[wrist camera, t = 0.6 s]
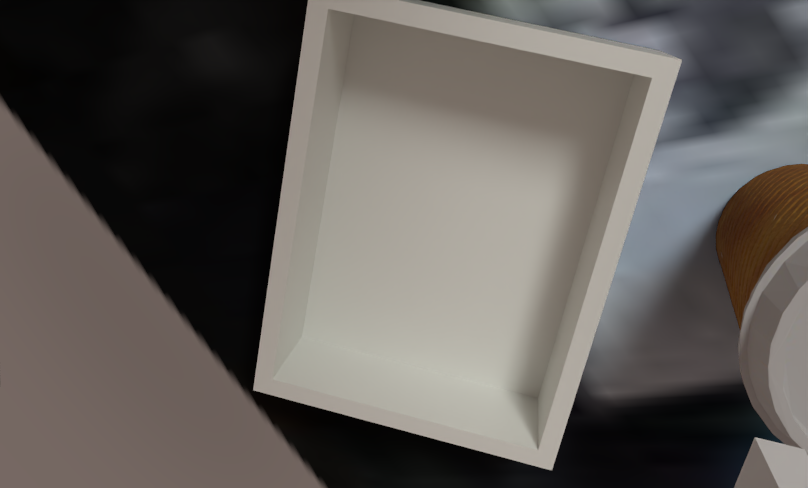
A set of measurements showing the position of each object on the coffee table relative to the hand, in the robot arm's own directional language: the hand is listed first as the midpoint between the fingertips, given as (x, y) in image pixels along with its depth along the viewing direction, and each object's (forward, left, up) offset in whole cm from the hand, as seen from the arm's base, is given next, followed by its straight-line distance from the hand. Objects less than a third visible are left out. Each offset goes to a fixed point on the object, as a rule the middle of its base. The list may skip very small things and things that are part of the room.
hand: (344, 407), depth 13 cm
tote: (+3, 0, -22) cm, 22 cm away
